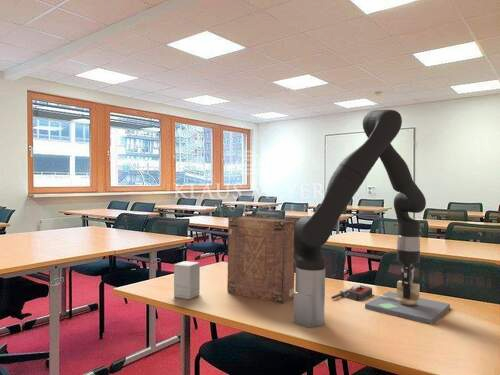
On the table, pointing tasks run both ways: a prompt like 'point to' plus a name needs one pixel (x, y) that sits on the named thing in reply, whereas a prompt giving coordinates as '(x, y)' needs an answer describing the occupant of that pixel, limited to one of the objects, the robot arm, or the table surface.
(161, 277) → the table surface
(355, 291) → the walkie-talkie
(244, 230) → the book
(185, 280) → the supplement box
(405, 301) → the tuning knob
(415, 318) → the grey flat square slab
